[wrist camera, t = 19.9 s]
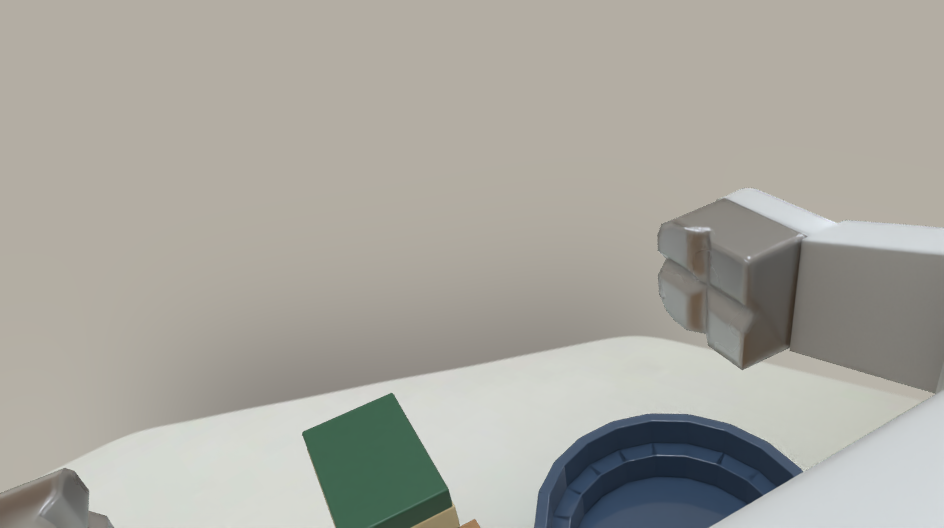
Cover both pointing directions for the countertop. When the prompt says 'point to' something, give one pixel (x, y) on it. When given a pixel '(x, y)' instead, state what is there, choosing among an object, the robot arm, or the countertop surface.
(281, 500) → the countertop surface
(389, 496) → the tea packet
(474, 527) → the cork mat
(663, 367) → the countertop surface
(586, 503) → the bowl
